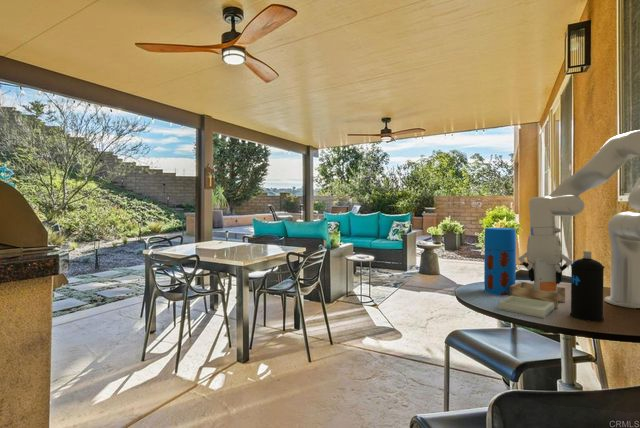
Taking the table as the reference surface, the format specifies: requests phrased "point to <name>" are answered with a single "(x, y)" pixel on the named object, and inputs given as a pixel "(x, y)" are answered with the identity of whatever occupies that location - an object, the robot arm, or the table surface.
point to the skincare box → (544, 276)
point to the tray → (527, 306)
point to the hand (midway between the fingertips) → (545, 281)
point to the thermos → (499, 260)
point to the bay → (537, 293)
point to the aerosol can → (587, 289)
